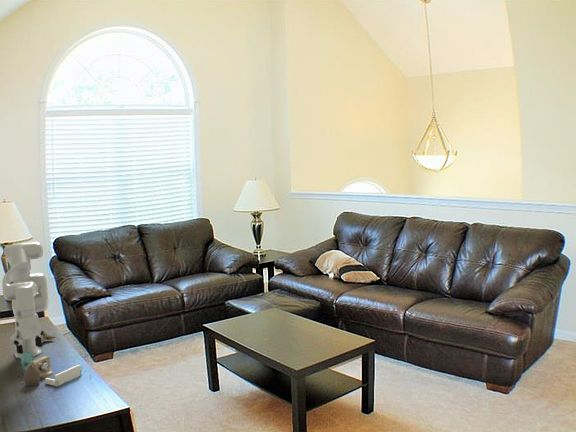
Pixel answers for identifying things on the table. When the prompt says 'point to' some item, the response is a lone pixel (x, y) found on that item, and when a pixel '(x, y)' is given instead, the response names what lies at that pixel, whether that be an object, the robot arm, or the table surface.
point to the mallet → (27, 360)
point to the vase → (31, 376)
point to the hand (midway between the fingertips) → (29, 349)
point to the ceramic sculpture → (46, 337)
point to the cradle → (65, 376)
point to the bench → (43, 360)
